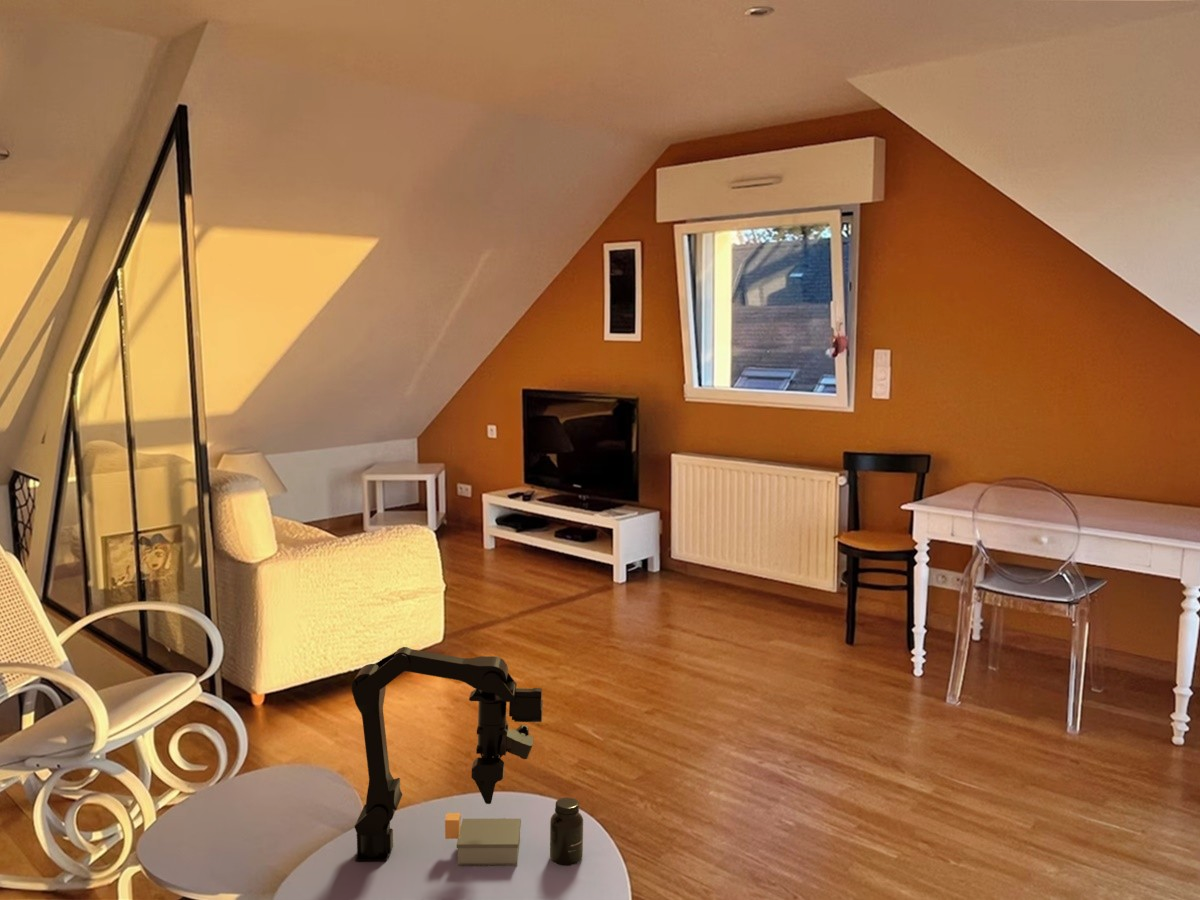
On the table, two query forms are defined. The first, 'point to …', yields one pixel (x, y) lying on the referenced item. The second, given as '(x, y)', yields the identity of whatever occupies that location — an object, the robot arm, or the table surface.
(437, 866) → the table surface
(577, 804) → the supplement bottle
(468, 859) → the tub
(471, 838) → the lid
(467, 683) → the robot arm
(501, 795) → the table surface
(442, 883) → the table surface
